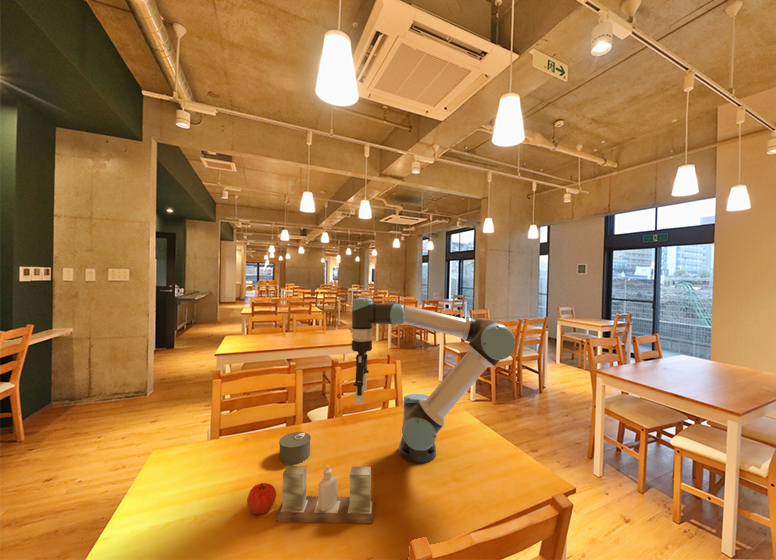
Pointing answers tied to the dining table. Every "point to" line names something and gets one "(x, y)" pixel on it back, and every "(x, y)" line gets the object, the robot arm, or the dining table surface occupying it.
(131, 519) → the dining table surface
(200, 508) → the dining table surface
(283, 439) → the can
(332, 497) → the eye dropper bottle
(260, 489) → the apple
